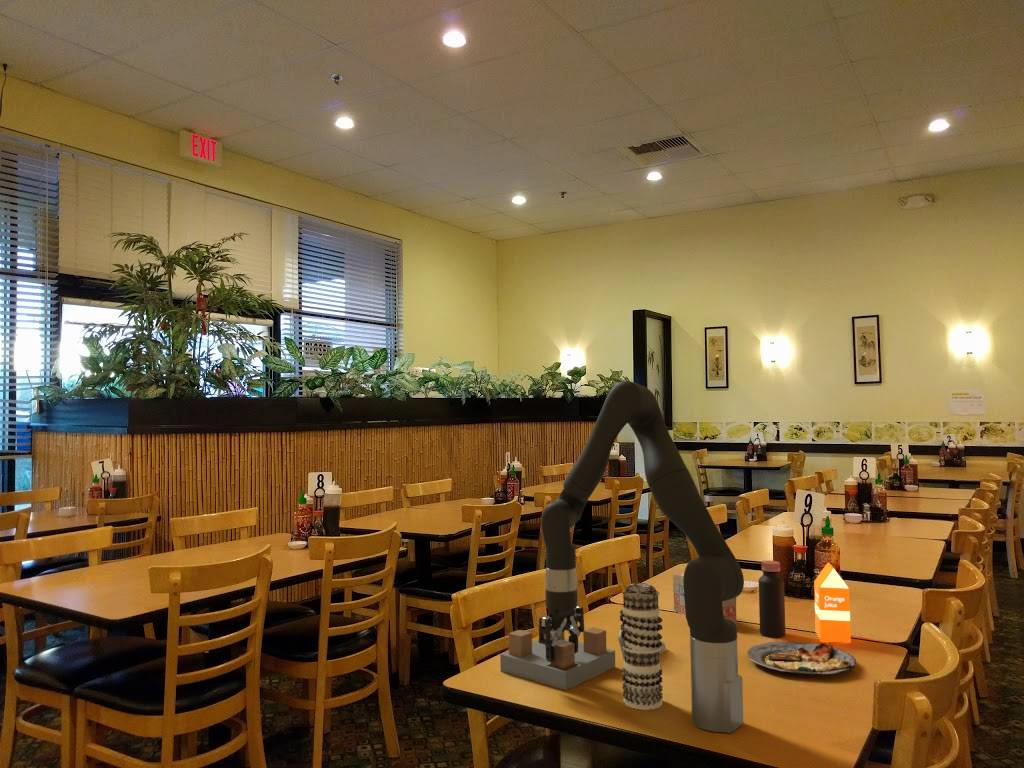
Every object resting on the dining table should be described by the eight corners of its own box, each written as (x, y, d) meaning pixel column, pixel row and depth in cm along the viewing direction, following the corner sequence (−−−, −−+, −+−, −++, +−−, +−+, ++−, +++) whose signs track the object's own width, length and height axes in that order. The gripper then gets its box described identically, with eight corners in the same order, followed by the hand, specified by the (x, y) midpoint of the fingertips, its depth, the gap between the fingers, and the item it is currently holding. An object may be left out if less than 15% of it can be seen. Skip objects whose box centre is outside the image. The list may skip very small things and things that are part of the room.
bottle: (782, 631, 212) (780, 559, 213) (788, 638, 205) (786, 564, 206) (757, 630, 212) (755, 559, 213) (763, 637, 206) (761, 564, 206)
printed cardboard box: (737, 626, 217) (736, 583, 218) (720, 629, 215) (719, 586, 215) (689, 609, 236) (688, 570, 237) (673, 612, 234) (672, 572, 234)
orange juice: (820, 642, 201) (818, 567, 202) (815, 632, 210) (813, 560, 211) (851, 643, 200) (849, 568, 200) (845, 634, 208) (842, 561, 209)
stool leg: (575, 682, 174) (574, 643, 175) (564, 687, 171) (563, 647, 172) (561, 678, 177) (560, 639, 177) (550, 682, 174) (550, 643, 174)
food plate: (848, 652, 192) (847, 638, 193) (865, 685, 170) (864, 669, 170) (746, 648, 199) (746, 634, 199) (750, 679, 177) (749, 664, 177)
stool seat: (615, 666, 184) (614, 630, 184) (565, 690, 169) (565, 650, 169) (551, 650, 197) (551, 616, 198) (500, 670, 182) (500, 633, 183)
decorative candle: (612, 702, 162) (610, 585, 162) (637, 691, 168) (635, 578, 169) (647, 714, 155) (645, 592, 156) (672, 701, 162) (670, 585, 162)
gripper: (555, 594, 167) (556, 668, 166) (592, 583, 178) (593, 652, 177) (529, 590, 172) (530, 661, 171) (567, 579, 183) (568, 646, 182)
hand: (562, 656), depth 174 cm, fingers open, 8 cm apart
